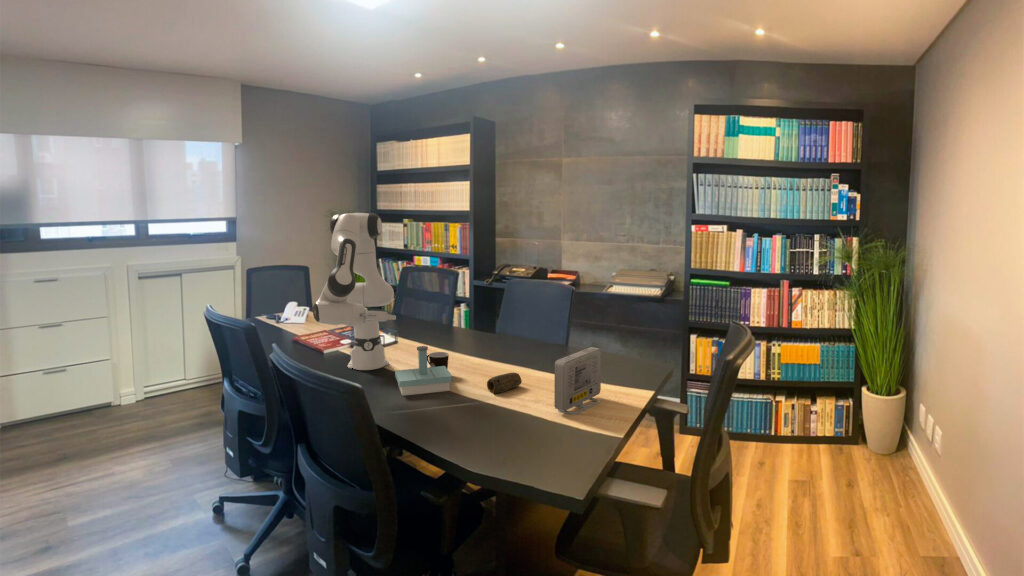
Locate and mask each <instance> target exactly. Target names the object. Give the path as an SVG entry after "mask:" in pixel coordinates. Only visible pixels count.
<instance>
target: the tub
mask: <svg viewBox="0 0 1024 576" xmlns="http://www.w3.org/2000/svg"><path fill="white" fill-rule="evenodd" d="M450 384H451V382H445V383H435V384H425V385H416V386H406V387H399V384H398V383H397V385H398V388H399V391H400V393H401V395H402V397H403V396H412V395H413V396H414V395H422V394H430V393H440V392H448V391H449V392H450V391H451V385H450Z"/></svg>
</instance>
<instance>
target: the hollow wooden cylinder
mask: <svg viewBox="0 0 1024 576" xmlns="http://www.w3.org/2000/svg"><path fill="white" fill-rule="evenodd" d="M522 381H523V380H522V378H521V375H520V374H519V373H517V372H507V373H503V374H499V375H495V376H493V377H491V378H489V379H488V380H487V382H486V387H487V390H488V391H489V392H490V393H491V394H498V393H503V392H505V391H508V390H509V391H510V390H512V389H515V388H517V387H519V386H520V385H521V384H522V383H523V382H522Z"/></svg>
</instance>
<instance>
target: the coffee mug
mask: <svg viewBox="0 0 1024 576" xmlns="http://www.w3.org/2000/svg"><path fill="white" fill-rule="evenodd" d="M449 357H450V354H449V353H448V352H446V351H445V352H444V351H434V352H431V353H429V354H427V364H429V367H438V366H445V367H446V368H447V369H448V365H449ZM448 370H449V369H448Z"/></svg>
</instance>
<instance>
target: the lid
mask: <svg viewBox="0 0 1024 576" xmlns="http://www.w3.org/2000/svg"><path fill="white" fill-rule="evenodd" d="M428 349H429V347H428V346H426V345H419V346H417V347H416V350H417V353H418V357H417V358H418V368H410V369H399V370H397V369H396V370H394V377H395V379H396V381H397V385H398V384H399V386H398V388H399V387H406V386H416V385H425V384H435V383H445V382H450V383H451V382H452V383H453V382H454V381H453V375H452V374H451V372H450V371H449V369H447V368H446V367H445V366H438V367H430V366H429V367H428V361H427V356H428V352H427V351H428Z"/></svg>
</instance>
